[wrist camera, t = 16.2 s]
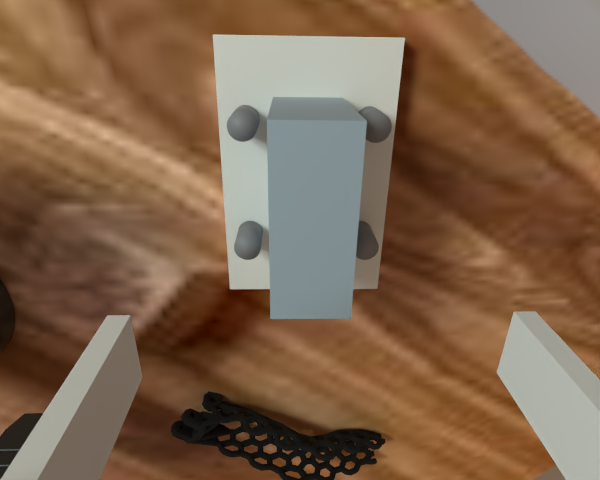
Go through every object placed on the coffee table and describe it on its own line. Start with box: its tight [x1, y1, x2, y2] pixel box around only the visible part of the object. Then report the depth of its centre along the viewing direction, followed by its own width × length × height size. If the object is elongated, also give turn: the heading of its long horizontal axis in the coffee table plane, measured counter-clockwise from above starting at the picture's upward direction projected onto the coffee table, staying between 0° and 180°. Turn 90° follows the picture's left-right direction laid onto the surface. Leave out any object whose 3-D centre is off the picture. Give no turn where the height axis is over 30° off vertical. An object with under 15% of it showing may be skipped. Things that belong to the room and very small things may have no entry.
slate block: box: [267, 97, 367, 319], centre depth 28 cm, size 12×5×10 cm, turn 179°
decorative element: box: [171, 392, 385, 480], centre depth 43 cm, size 22×5×6 cm, turn 73°
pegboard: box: [213, 35, 405, 289], centre depth 32 cm, size 20×13×4 cm, turn 179°
